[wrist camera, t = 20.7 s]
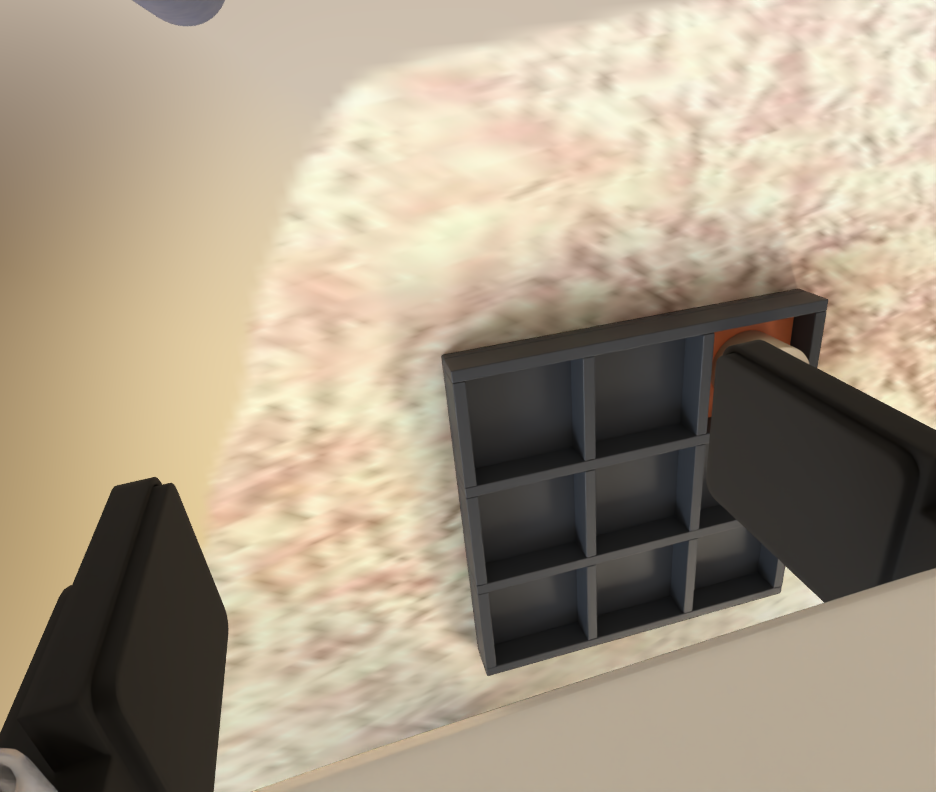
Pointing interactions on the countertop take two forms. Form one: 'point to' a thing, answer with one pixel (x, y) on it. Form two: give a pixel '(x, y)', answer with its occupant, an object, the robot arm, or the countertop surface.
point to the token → (756, 335)
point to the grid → (604, 478)
